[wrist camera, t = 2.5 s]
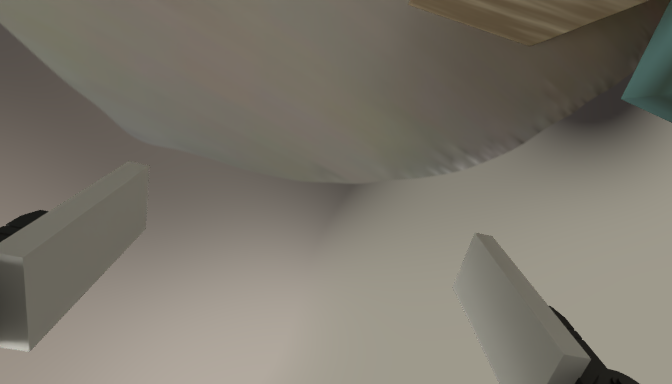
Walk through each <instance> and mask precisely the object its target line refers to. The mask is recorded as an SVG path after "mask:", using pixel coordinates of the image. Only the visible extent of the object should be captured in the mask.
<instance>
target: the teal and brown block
mask: <svg viewBox="0 0 672 384" xmlns="http://www.w3.org/2000/svg"><path fill="white" fill-rule="evenodd" d="M621 99H622V100H624V101H626V102H628V103H630V104H633V105H635V106H637V107H639V108H641V109H644V110H646V111H648V112H650V113H652V114H654V115H657V116H659V117H661V118H663V119H665V120H667V121H669V122H672V0H670V2H669V4H668V6H667V8H666V10H665V12H664V14H663V16H662V18H661V20H660V22H659V24H658V26H657V28H656V30H655V32H654V34H653V36H652V38H651V40H650V42H649V44H648V46H647V48H646V50H645V52H644V54H643V56H642V58H641V60H640V62H639V64H638V66H637V68H636V70H635V72H634V74H633V76H632V78H631V80H630V82H629V84H628V86H627V88H626V90H625V92H624V93H623V96H622V97H621Z"/></svg>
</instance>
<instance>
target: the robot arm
mask: <svg viewBox="0 0 672 384" xmlns="http://www.w3.org/2000/svg"><path fill="white" fill-rule="evenodd" d="M148 183H149V165H144V164H140V163H135V162H131V161H128V162H127V163H125V164H124V165H122V166H120V167H119V168H117V169H116V170H114V171H113V172H111V173H109V174H108V175H106V176H105V177H103V178H101V179H100V180H98V181H97V182H95V183H94V184H92V185H90V186H89V187H87V188H86V189H84V190H83V191H81V192H79V193H78V194H76V195H75V196H73V197H71V198H70V199H68V200H67V201H65V202H63V203H62V204H60V205H59V206H57V207H55V208H54V209H52V210H51V211H49V212H48V211H43V210H39V211H35V212H32V213H28V214H25V215H22V216H20V217H18V218H16V219H14V220H13V221H11V222H9V223H8V224H6V226H3V227H1V228H0V347H2V348H8V349H15V350H21V351H27V352H30V351H31V350H32V349H33V348H34V347H35V345H36V344H37V343H38V342H39V341H40V340H41V339H42V338H43V337H44V336H45V335H46V334H47V333H48V332H49V331H50V330H51V329H52V328H53V326H54V325H55V324H56V323H57V322H58V321H59V320H60V319H61V318H62V317H63V316H64V315H65V314H66V313H67V312H68V310H70V308H71V307H72V306H73V305H74V304H75V303H76V302H77V301H78V300H79V299H80V298H81V297H82V296H83V295H84V294H85V292H87V291H88V289H89V288H90V287H91V286H92V285H93V284H94V283H95V282H96V281H97V280H98V279H99V278H100V277H101V276H102V275H103V274H104V272H105V271H106V270H107V269H108V268H109V267H110V266H111V265H112V264H113V263H114V262H115V261H116V260H117V259H118V258H119V257H120V256H121V254H122V253H123V252H124V251H125V250H126V249H127V248H128V247H129V246H130V245H131V244H132V243H133V242H134V241H135V240H136V239H137V238H138V237H139V235H140V234H141V233H142V232H143V231H144V230H145V229H146V217H147V200H148ZM453 290H454V291H455V294H456V296H457V298H458V300H459V301H460V304H461V306H462V308H463V310H464V312H465V314H466V316H467V318H468V320H469V322H470V324H471V326H472V329H473V331H474V333H475V335H476V337H477V339H478V341H479V343H480V345H481V346H482V349H483V351H484V353H485V355H486V357H487V359H488V361H489V363H490V366H491V368H492V369H493V372H494V373H495V376H496V378H497V380H498V382H499V384H639V383H638V382H636V381H635V380H633V379H632V378H630V377H628V376H626V375H624V374H622V373H620V372H618V371H614V370H610V369H607V368H606V366H605V365H604V364H603V363H602V362H601V360H600V359H599V358H598V357H597V356H596V354H595V353H594V352H593V351H592V350H591V348H590V347H589V346H588V345H587V344H586V342H585V341H584V340H582V338H581V336H580V335H579V334H578V333H577V332H576V331H574V328H573V327H572V326H571V325H570V323H569V322H568V321H567V320H566V318H565V317H563V316H562V315H561V314H560V313H559V312H557V311H556V310H555V309H554V308H552V307H551V306H548V305H547V304H546V302H545V301H544V300H543V299H542V298H541V296H540V295H539V294H538V293H537V291H536V290H535V289H534V288H533V286H532V285H531V284H530V283H529V281H528V280H527V279H526V278H525V276H524V275H523V274H522V273H521V271H520V270H519V269H518V268H517V267H516V265H515V264H514V263H513V262H512V260H511V259H510V258H509V257H508V255H507V254H506V253H505V252H504V250H503V249H502V248H501V247H500V245H499V244H498V243H497V242H496V241H495V239H494V238H493V237H492V236H489V235H484V234H479V233H474V236H473V238H472V241H471V243H470V246H469V248H468V250H467V253H466V255H465V258H464V260H463V263H462V265H461V268H460V270H459V273H458V275H457V278H456V280H455V282H454V285H453Z"/></svg>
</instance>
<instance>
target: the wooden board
mask: <svg viewBox="0 0 672 384" xmlns="http://www.w3.org/2000/svg"><path fill="white" fill-rule="evenodd" d="M646 1H649V0H409V4H408V5H410V6H413V7H416V8H419V9H422V10H425V11H428V12H431V13H434V14H437V15H440V16H443V17H445V18H448V19H451V20H454V21H457V22H460V23H463V24H466V25H469V26H472V27H475V28H478V29H481V30H484V31H486V32H489V33H492V34H495V35H498V36H501V37H504V38H507V39H510V40H513V41H516V42H519V43H522V44H525V45H527V46H532V45H535V44H538V43H540V42H543V41H545V40H548V39H551V38H553V37H556V36H558V35H561V34H563V33H566V32H569V31H571V30H574V29H576V28H579V27H582V26H584V25H587V24H589V23H592V22H594V21H597V20H600V19H602V18H605V17H607V16H610V15H613V14H615V13H618V12H620V11H623V10H625V9H628V8H631V7H633V6H636V5H638V4H641V3H644V2H646Z"/></svg>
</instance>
